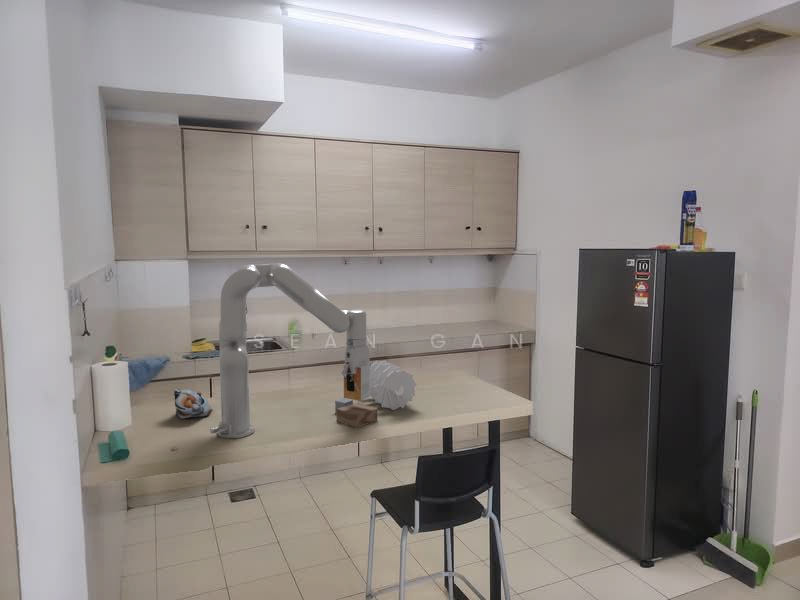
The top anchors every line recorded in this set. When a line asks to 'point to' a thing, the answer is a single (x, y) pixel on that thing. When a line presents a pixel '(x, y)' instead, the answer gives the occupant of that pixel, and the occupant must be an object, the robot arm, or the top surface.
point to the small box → (359, 384)
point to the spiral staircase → (390, 385)
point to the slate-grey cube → (342, 403)
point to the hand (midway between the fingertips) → (356, 388)
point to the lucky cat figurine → (190, 404)
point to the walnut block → (357, 414)
